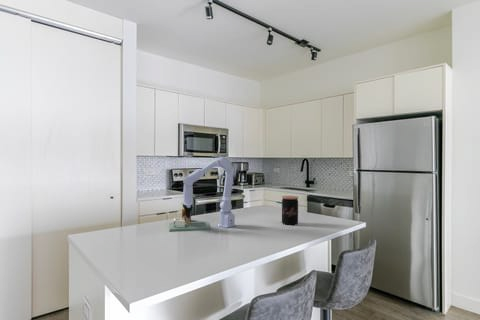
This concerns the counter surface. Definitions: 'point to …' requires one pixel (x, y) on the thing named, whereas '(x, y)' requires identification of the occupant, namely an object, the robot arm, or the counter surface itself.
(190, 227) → the pitch
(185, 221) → the condiment
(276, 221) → the counter surface
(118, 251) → the counter surface
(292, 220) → the coffee jar
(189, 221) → the grey and tan mallet
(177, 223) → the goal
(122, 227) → the counter surface
